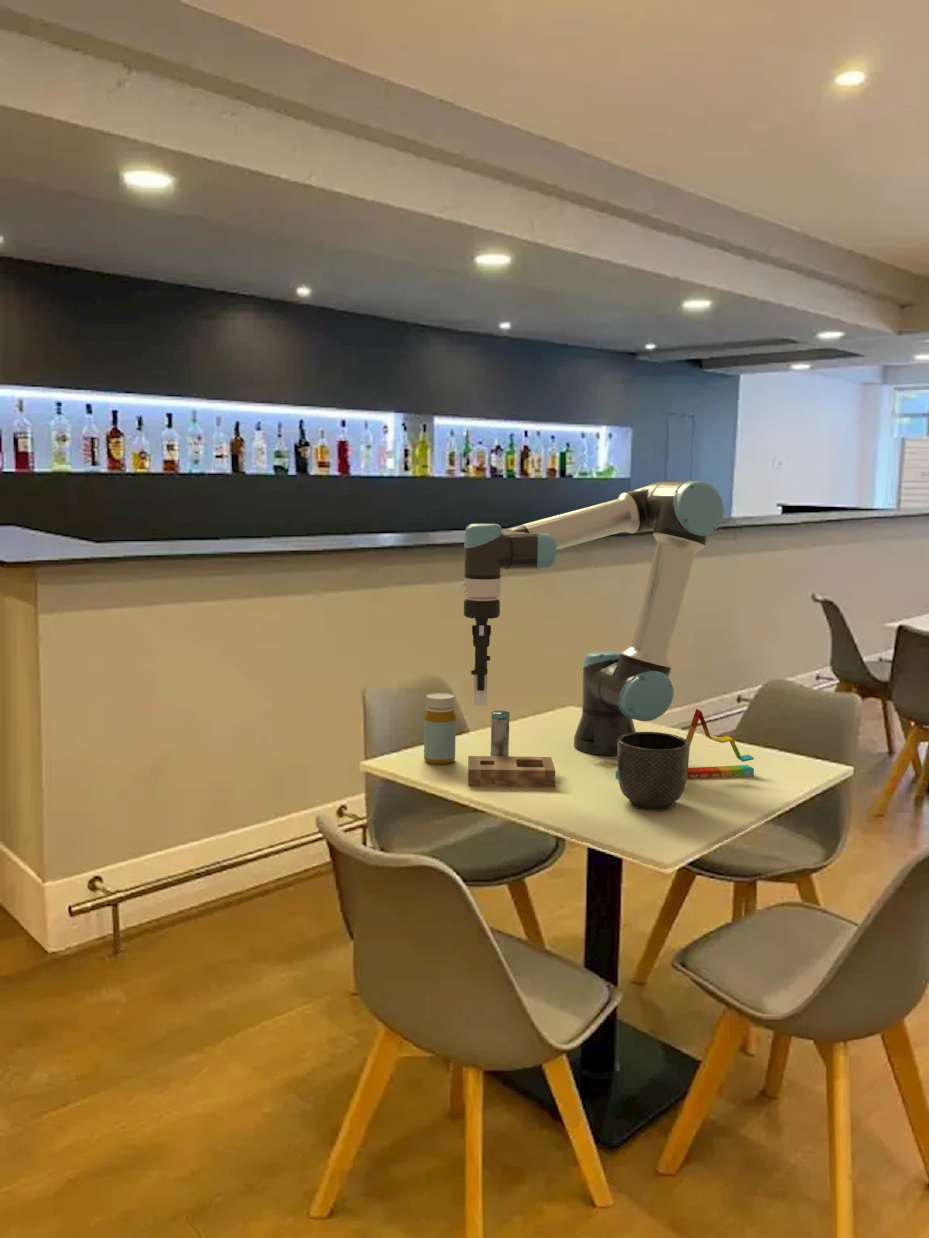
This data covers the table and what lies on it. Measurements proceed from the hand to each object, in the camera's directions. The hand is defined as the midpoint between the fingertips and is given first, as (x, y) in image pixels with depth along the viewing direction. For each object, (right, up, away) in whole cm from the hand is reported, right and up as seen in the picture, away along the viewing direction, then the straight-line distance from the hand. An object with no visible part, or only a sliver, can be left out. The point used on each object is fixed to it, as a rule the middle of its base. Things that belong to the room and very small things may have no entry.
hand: (480, 698), depth 206 cm
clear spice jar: (+4, -16, +11) cm, 20 cm away
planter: (+33, -20, -13) cm, 41 cm away
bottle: (-9, -15, +14) cm, 23 cm away
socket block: (+6, -17, +1) cm, 18 cm away
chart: (+44, -18, +5) cm, 48 cm away
